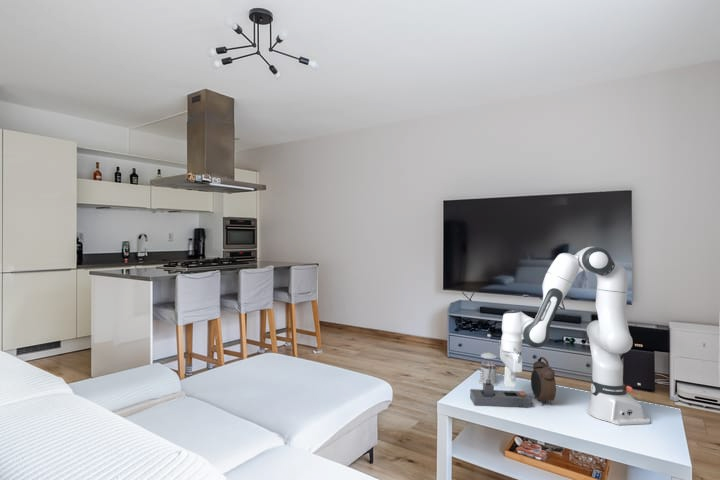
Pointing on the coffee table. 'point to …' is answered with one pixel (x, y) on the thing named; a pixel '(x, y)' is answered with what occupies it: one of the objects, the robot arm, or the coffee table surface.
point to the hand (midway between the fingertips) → (510, 377)
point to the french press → (488, 369)
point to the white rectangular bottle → (507, 380)
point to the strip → (500, 398)
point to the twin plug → (488, 388)
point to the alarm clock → (543, 381)
